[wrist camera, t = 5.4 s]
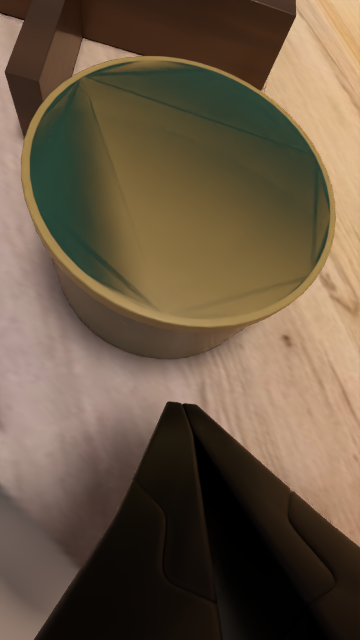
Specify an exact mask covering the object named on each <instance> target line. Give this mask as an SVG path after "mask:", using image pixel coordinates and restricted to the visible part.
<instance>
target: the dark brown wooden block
mask: <svg viewBox="0 0 360 640" xmlns="http://www.w3.org/2000/svg"><path fill="white" fill-rule="evenodd" d="M0 12H1V13H4V14H8V15H11V16H14V17H18V18H21V19H24V23H23V25H22V28H21V30H20V33H19V36H18V38H17V41H16V44H15V46H14V49H13V51H12V54H11V57H10V59H9V62H8V65H7V67H6V70H5V75H6V78H7V81H8V85H9V88H10V92H11V95H12V98H13V102H14V105H15V109H16V112H17V115H18V119H19V122H20V125H21V129H22V132H23V136H24V139H25V136H26V133H27V131H28V128H29V125H30V122H31V121H32V119H33V117H34V115H35V114H36V112H37V110H38V108H39V107H40V106H41V104H42V103H43V102H44V101H45V99H46V98H47V97H48V96H49V95H50V93H52V92H53V91H54V90H55V89H56V88H57V87H58V86H60V85H61V84H62V83H63V82H64V81H66V80H68V79H69V78H71V76H72V72H73V69H74V65H75V62H76V58H77V55H78V51H79V48H80V44H81V41H82V37H85V38H88V39H91V40H95V41H98V42H101V43H105V44H108V45H112V46H115V47H118V48H122V49H125V50H128V51H132V52H135V53H138V54H142V55H145V56H164V57H172V58H179V59H185V60H189V61H194V62H198V63H202V64H205V65H208V66H211V67H214V68H217V69H219V70H222V71H224V72H226V73H229V74H231V75H233V76H235V77H237V78H239V79H241V80H243V81H245V82H247V83H249V84H250V85H252V86H253V87H255V88H256V89H259V90H262V88H263V86H264V84H265V82H266V79H267V77H268V75H269V73H270V71H271V69H272V67H273V64H274V62H275V60H276V58H277V56H278V54H279V52H280V49H281V47H282V45H283V43H284V41H285V39H286V37H287V34H288V32H289V30H290V28H291V26H292V24H293V22H294V19H295V17H296V0H0Z"/></svg>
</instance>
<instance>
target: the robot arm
mask: <svg viewBox="0 0 360 640" xmlns="http://www.w3.org/2000/svg"><path fill="white" fill-rule="evenodd" d="M34 640H360V547H359V546H357V545H356V544H355V543H354V542H353V541H351V540H350V539H349V538H348V537H346V536H345V535H344V534H343V533H341V532H340V531H339V530H338V529H337V528H335V527H334V526H333V525H332V524H330V523H329V522H328V521H327V520H326V519H325V518H323V517H322V516H321V515H320V514H319V513H318V512H316V511H315V510H314V509H313V508H312V507H311V506H310V505H308V504H307V503H306V502H305V501H304V500H303V499H302V498H301V497H299V496H298V495H297V494H296V493H295V492H294V491H292V492H291V490H290V488H289V487H288V486H286V485H285V484H284V483H283V482H282V481H281V480H280V479H279V478H278V477H276V476H275V475H274V474H273V473H272V472H271V471H270V470H269V469H268V468H266V467H265V466H264V465H263V464H262V463H261V462H260V461H259V460H258V459H256V458H255V457H254V456H253V455H252V454H251V453H250V452H249V451H248V450H246V449H245V448H244V447H243V446H242V445H241V444H240V443H239V442H237V441H236V440H235V439H234V438H233V437H232V436H231V435H230V434H229V433H227V432H226V431H225V430H224V429H223V428H222V427H221V426H220V425H219V424H217V423H216V422H215V421H214V420H213V419H212V418H211V417H210V416H209V415H207V414H206V413H205V412H204V411H203V410H202V409H201V408H200V407H199V406H197V405H195V404H186V403H184V404H181V403H178V402H167V403H166V405H165V408H164V410H163V412H162V414H161V416H160V419H159V421H158V423H157V425H156V428H155V430H154V432H153V434H152V436H151V439H150V441H149V443H148V445H147V448H146V450H145V452H144V454H143V456H142V459H141V461H140V463H139V465H138V468H137V470H136V472H135V474H134V476H133V479H132V481H131V482H130V485H129V487H128V489H127V491H126V494H125V496H124V498H123V500H122V502H121V503H120V505H119V507H118V509H117V511H116V513H115V515H114V517H113V518H112V520H111V522H110V523H109V525H108V527H107V528H106V530H105V532H104V533H103V535H102V537H101V538H100V540H99V541H98V543H97V544H96V546H95V547H94V549H93V550H92V552H91V554H90V555H89V557H88V558H87V560H86V561H85V563H84V564H83V566H82V567H81V569H80V570H79V572H78V573H77V575H76V576H75V578H74V579H73V581H72V582H71V584H70V586H69V587H68V589H67V590H66V592H65V593H64V595H63V596H62V598H61V599H60V601H59V602H58V604H57V605H56V607H55V608H54V610H53V611H52V613H51V615H50V616H49V618H48V619H47V621H46V622H45V624H44V625H43V627H42V628H41V630H40V631H39V633H38V634H37V636H36V637H35V639H34Z"/></svg>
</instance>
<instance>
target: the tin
mask: <svg viewBox="0 0 360 640" xmlns="http://www.w3.org/2000/svg"><path fill="white" fill-rule="evenodd" d="M21 181H22V186H23V192H24V197H25V201H26V204H27V207H28V209H29V212H30V215H31V218H32V221H33V223H34V226H35V229H36V231H37V233H38V235H39V237H40V238H41V240H42V242H43V244H44V246H45V248H46V250H47V251H48V252H49V254H50V255H51V257H52V260H53V263H54V266H55V269H56V272H57V275H58V277H59V280H60V283H61V286H62V289H63V292H64V294H65V296H66V298H67V300H68V302H69V304H70V306H71V307H72V309H73V310H74V311H75V313H76V314H77V315H78V317H79V318H80V319H81V320H82V321H83V322H84V323H85V324H86V325H87V327H88V328H89V329H91V330H92V331H93V332H94V333H96V334H97V335H98V336H99V337H101V338H102V339H104V340H105V341H107V342H109V343H110V344H112V345H114V346H116V347H118V348H120V349H122V350H125V351H127V352H130V353H133V354H137V355H140V356H144V357H151V358H157V359H175V358H185V357H189V356H193V355H197V354H201V353H203V352H206V351H208V350H211V349H213V348H214V347H216V346H218V345H220V344H221V343H223V342H224V341H226V340H227V339H229V338H230V337H232V336H233V335H235V334H236V333H238V332H239V331H241V330H242V329H244V328H245V327H247V326H249V325H252V324H254V323H257V322H259V321H262V320H264V319H266V318H268V317H270V316H271V315H273V314H275V313H277V312H278V311H280V310H282V309H283V308H285V307H286V306H288V305H289V304H291V303H292V302H293V301H294V300H296V299H297V298H298V297H299V296H301V295H302V294H303V293H304V292H305V291H306V290H307V289H308V287H309V286H310V285H311V284H312V283H313V282H314V281H315V279H316V278H317V276H318V274H319V273H320V271H321V270H322V268H323V267H324V264H325V262H326V260H327V257H328V255H329V252H330V250H331V246H332V242H333V238H334V233H335V222H336V214H335V200H334V195H333V190H332V185H331V182H330V179H329V176H328V173H327V170H326V168H325V166H324V164H323V161H322V159H321V157H320V155H319V153H318V152H317V150H316V148H315V147H314V145H313V143H312V142H311V140H310V139H309V138H308V136H307V135H306V134H305V132H304V131H303V129H302V128H301V127H300V126H299V125H298V124H297V123H296V121H295V120H294V119H293V118H292V117H291V116H290V115H289V114H288V113H287V112H286V111H285V110H284V109H283V108H281V107H280V106H279V105H278V104H277V103H276V102H275V101H273V100H272V99H271V98H269V97H268V96H267V95H265V94H264V93H263V92H261V91H260V90H258V89H256V88H255V87H253V86H252V85H250V84H249V83H247V82H245V81H243V80H241V79H239V78H237V77H235V76H233V75H231V74H229V73H226V72H224V71H222V70H219V69H217V68H214V67H211V66H208V65H205V64H202V63H198V62H194V61H189V60H185V59H179V58H172V57H164V56H138V57H126V58H121V59H116V60H110V61H107V62H104V63H101V64H97V65H94V66H92V67H90V68H88V69H85V70H83V71H81V72H79V73H77V74H75V75H74V76H72V77H71V78H69V79H68V80H66V81H64V82H63V83H62V84H61V85H60V86H58V87H57V88H56V89H55V90H54V91H53V92H52V93H50V95H49V96H48V97H47V98H46V99H45V101H44V102H43V103H42V104H41V106H40V107H39V108H38V110H37V112H36V114H35V115H34V117H33V119H32V121H31V122H30V125H29V128H28V131H27V133H26V136H25V139H24V144H23V150H22V156H21Z"/></svg>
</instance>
